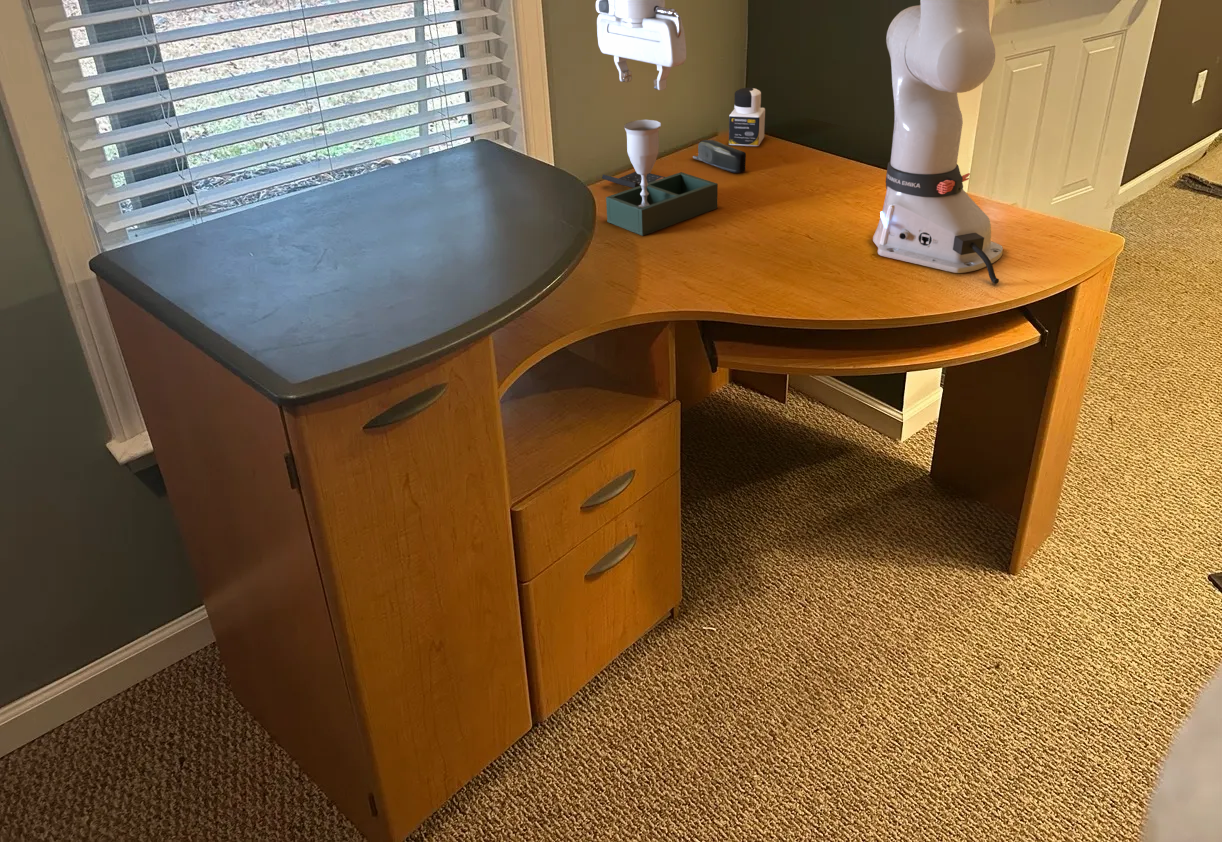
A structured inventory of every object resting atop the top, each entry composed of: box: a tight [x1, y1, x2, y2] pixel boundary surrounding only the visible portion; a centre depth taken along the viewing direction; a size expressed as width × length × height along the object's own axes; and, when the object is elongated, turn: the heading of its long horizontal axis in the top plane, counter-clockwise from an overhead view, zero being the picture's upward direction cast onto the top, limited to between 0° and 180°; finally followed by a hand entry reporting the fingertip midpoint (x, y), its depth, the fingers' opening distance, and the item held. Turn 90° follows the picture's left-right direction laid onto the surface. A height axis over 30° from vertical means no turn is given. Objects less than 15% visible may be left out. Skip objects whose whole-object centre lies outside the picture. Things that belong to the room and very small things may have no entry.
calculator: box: [601, 171, 666, 189], centre depth 209 cm, size 9×12×3 cm
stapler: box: [692, 139, 747, 174], centre depth 217 cm, size 5×3×15 cm
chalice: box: [623, 119, 662, 208], centre depth 187 cm, size 7×7×18 cm
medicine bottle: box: [728, 87, 766, 147], centre depth 229 cm, size 7×7×12 cm
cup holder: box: [605, 171, 719, 237], centre depth 193 cm, size 10×20×5 cm, turn 130°
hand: (642, 85), depth 178 cm, fingers open, 8 cm apart
